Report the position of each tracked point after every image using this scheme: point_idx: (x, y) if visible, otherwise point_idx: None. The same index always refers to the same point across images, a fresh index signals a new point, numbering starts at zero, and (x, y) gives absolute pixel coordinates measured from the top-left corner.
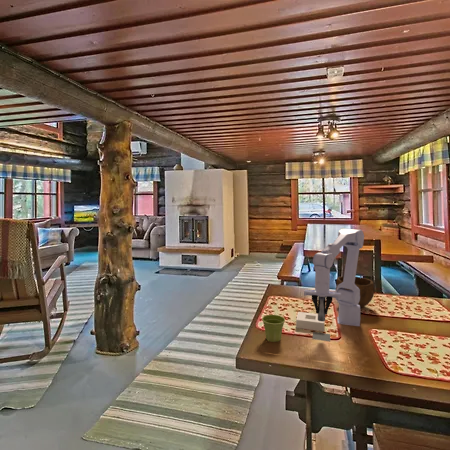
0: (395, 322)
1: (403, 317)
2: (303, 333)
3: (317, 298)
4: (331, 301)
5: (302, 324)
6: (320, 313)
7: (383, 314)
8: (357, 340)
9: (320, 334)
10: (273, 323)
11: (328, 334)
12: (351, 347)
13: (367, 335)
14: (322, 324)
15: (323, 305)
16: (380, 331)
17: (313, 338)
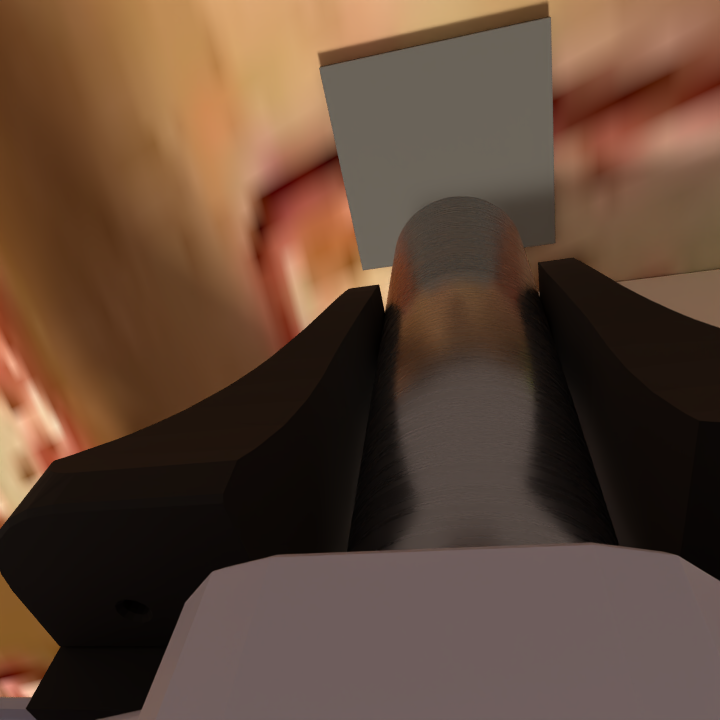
0: (22, 623)
1: (19, 681)
2: (678, 158)
3: (697, 550)
4: (49, 467)
5: (715, 300)
6: (477, 256)
7: None
8: (98, 259)
9: None
10: None
11: (376, 251)
12: (78, 50)
13: (73, 392)
14: None
15: (406, 384)
16: (31, 487)
17: (537, 41)
